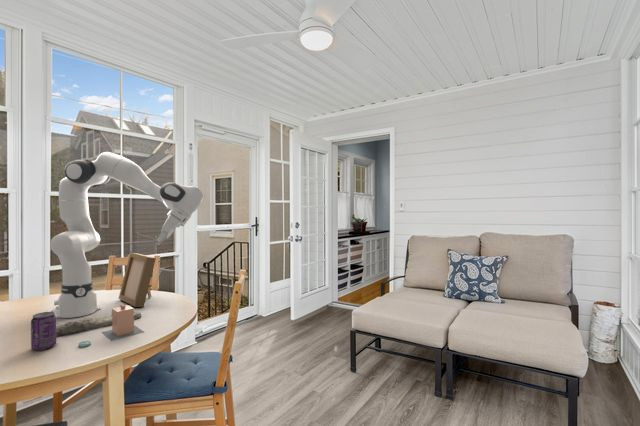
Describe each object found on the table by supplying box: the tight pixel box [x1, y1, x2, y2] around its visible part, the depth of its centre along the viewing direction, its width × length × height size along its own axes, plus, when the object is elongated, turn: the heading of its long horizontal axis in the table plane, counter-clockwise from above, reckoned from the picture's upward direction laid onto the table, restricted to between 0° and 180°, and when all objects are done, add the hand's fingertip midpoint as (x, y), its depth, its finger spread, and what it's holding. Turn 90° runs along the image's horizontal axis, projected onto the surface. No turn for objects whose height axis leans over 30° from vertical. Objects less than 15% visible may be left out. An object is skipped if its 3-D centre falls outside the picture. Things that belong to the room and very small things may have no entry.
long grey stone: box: [56, 311, 142, 337], centre depth 145 cm, size 35×5×10 cm
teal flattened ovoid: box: [78, 340, 92, 348], centre depth 124 cm, size 4×4×2 cm
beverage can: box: [30, 311, 57, 351], centre depth 124 cm, size 7×7×12 cm
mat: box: [101, 324, 145, 342], centre depth 138 cm, size 12×12×1 cm
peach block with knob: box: [111, 304, 135, 336], centre depth 137 cm, size 6×6×11 cm
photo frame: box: [118, 252, 157, 308], centre depth 182 cm, size 15×22×25 cm
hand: (157, 242), depth 151 cm, fingers open, 8 cm apart
